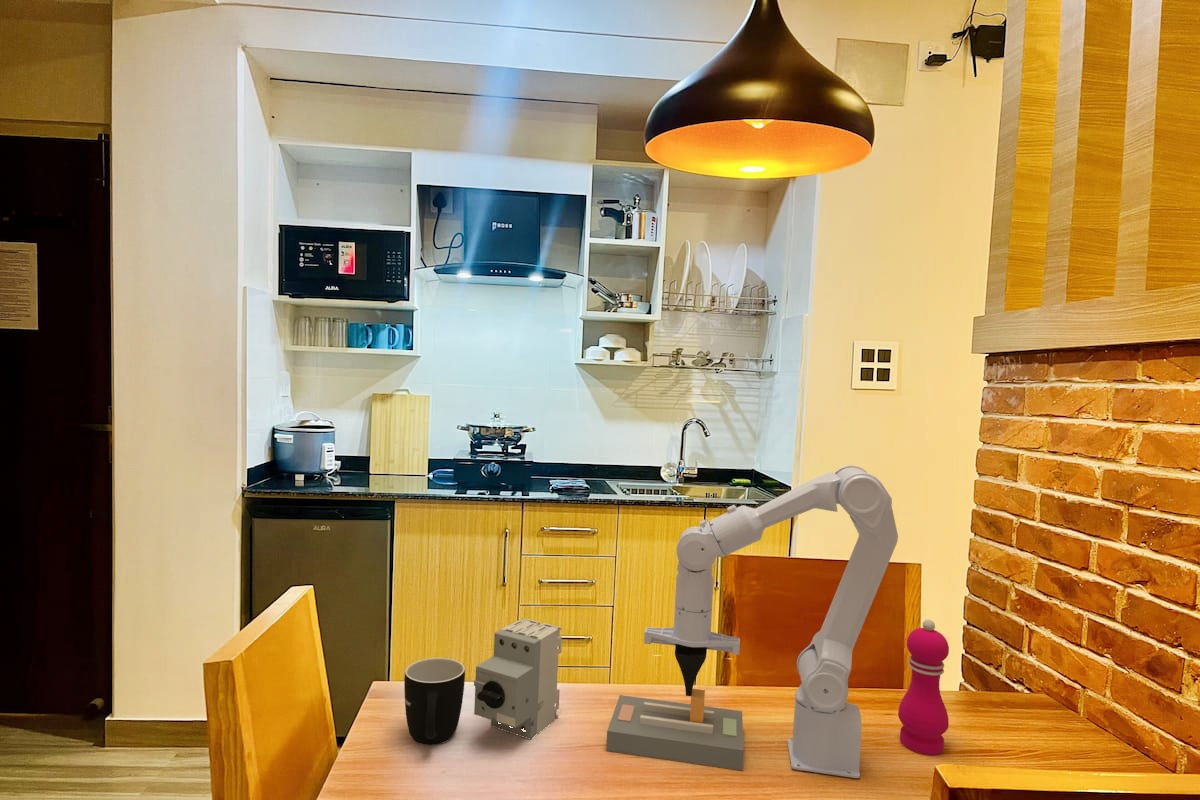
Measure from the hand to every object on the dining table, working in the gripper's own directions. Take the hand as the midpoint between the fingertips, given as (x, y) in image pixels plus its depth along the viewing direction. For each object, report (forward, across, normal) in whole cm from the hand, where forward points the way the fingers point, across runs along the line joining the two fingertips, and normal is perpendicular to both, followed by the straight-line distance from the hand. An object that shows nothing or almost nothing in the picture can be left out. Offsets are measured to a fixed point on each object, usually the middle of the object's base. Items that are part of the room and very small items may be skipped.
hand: (689, 693), depth 106 cm
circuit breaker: (+8, +27, +4) cm, 28 cm away
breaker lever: (+4, -1, 0) cm, 5 cm away
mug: (+8, +38, +10) cm, 40 cm away
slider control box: (+8, +2, 0) cm, 8 cm away
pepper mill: (+8, -36, -9) cm, 38 cm away
